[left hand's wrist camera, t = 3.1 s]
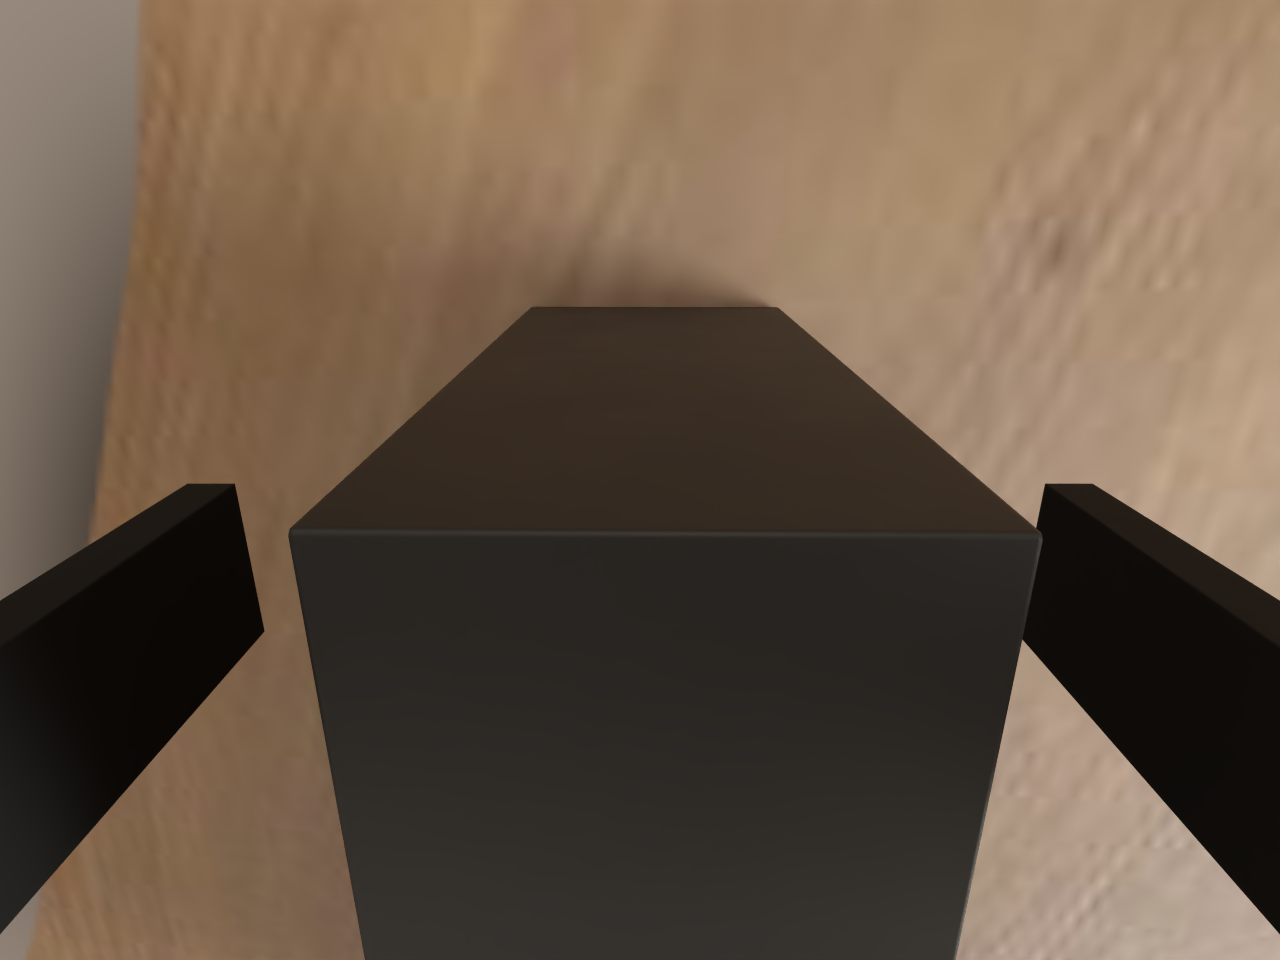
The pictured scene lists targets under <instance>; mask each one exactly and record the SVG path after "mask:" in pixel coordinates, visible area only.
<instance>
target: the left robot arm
mask: <svg viewBox="0 0 1280 960" xmlns="http://www.w3.org/2000/svg"><path fill="white" fill-rule="evenodd" d="M1036 529H1037V530H1039V531H1040V532H1041V534H1042V539H1043V541H1042V546H1041V551H1040V556H1039V561H1038V565H1037V570H1036V575H1035V580H1034V585H1033V590H1032V594H1031V599H1030V604H1029V609H1028V614H1027V618H1026V623H1025V628H1024V633H1023V638H1022V639H1023V641H1024V642H1025V643H1026V644H1027V645H1028V646H1029V647H1030V649H1031V650H1032V651H1033V652H1034V653H1035V654H1036V655H1037V657H1038V658H1039V659H1040V660H1041V661H1042V662H1043V663H1044V665H1045V666H1046V667H1047V668H1048V669H1049V670H1050V671H1051V673H1052V674H1053V675H1054V676H1055V677H1056V678H1057V679H1058V681H1059V682H1060V683H1061V684H1062V685H1063V686H1064V687H1065V689H1066V690H1067V691H1068V692H1069V693H1070V694H1071V696H1072V697H1073V698H1074V699H1075V700H1076V701H1077V702H1078V704H1079V705H1080V706H1081V707H1082V708H1083V709H1084V710H1085V712H1086V713H1087V714H1088V715H1089V716H1090V717H1091V718H1092V720H1093V721H1094V722H1095V723H1096V724H1097V725H1098V726H1099V728H1100V729H1101V730H1102V731H1103V732H1104V733H1105V734H1106V736H1107V737H1108V738H1109V739H1110V740H1111V741H1112V742H1113V744H1114V745H1115V746H1116V747H1117V748H1118V749H1119V750H1120V752H1121V753H1122V754H1123V755H1124V756H1125V757H1126V759H1127V760H1128V761H1129V762H1130V763H1131V764H1132V765H1133V767H1134V768H1135V769H1136V770H1137V771H1138V772H1139V773H1140V775H1141V776H1142V777H1143V778H1144V779H1145V780H1146V781H1147V783H1148V784H1149V785H1150V786H1151V787H1152V788H1153V789H1154V791H1155V792H1156V793H1157V794H1158V795H1159V796H1160V797H1161V799H1162V800H1163V801H1164V802H1165V803H1166V804H1167V805H1168V807H1169V808H1170V809H1171V810H1172V811H1173V812H1174V813H1175V815H1176V816H1177V817H1178V818H1179V819H1180V820H1181V822H1182V823H1183V824H1184V825H1185V826H1186V827H1187V828H1188V830H1189V831H1190V832H1191V833H1192V834H1193V835H1194V836H1195V838H1196V839H1197V840H1198V841H1199V842H1200V843H1201V844H1202V846H1203V847H1204V848H1205V849H1206V850H1207V851H1208V852H1209V854H1210V855H1211V856H1212V857H1213V858H1214V859H1215V860H1216V862H1217V863H1218V864H1219V865H1220V866H1221V867H1222V868H1223V870H1224V871H1225V872H1226V873H1227V874H1228V875H1229V877H1230V878H1231V879H1232V880H1233V881H1234V882H1235V883H1236V885H1237V886H1238V887H1239V888H1240V889H1241V890H1242V891H1243V893H1244V894H1245V895H1246V896H1247V897H1248V898H1249V899H1250V901H1251V902H1252V903H1253V904H1254V905H1255V906H1256V907H1257V909H1258V910H1259V911H1260V912H1261V913H1262V914H1263V915H1264V917H1265V918H1266V919H1267V920H1268V921H1269V922H1270V923H1271V925H1272V926H1273V927H1274V928H1275V929H1276V930H1277V931H1278V933H1279V934H1280V601H1279V600H1278V599H1276V598H1275V597H1273V596H1271V595H1270V594H1268V593H1267V592H1265V591H1263V590H1262V589H1260V588H1259V587H1257V586H1255V585H1254V584H1252V583H1251V582H1249V581H1247V580H1246V579H1244V578H1243V577H1241V576H1239V575H1238V574H1236V573H1235V572H1233V571H1231V570H1230V569H1228V568H1227V567H1225V566H1223V565H1222V564H1220V563H1219V562H1217V561H1215V560H1214V559H1212V558H1211V557H1209V556H1207V555H1206V554H1204V553H1203V552H1201V551H1199V550H1198V549H1196V548H1195V547H1193V546H1191V545H1190V544H1188V543H1187V542H1185V541H1183V540H1182V539H1180V538H1179V537H1177V536H1175V535H1174V534H1172V533H1171V532H1169V531H1167V530H1166V529H1164V528H1163V527H1161V526H1159V525H1158V524H1156V523H1155V522H1153V521H1151V520H1150V519H1148V518H1147V517H1145V516H1143V515H1142V514H1140V513H1139V512H1137V511H1135V510H1134V509H1132V508H1130V507H1129V506H1127V505H1126V504H1124V503H1122V502H1121V501H1119V500H1118V499H1116V498H1114V497H1113V496H1111V495H1110V494H1108V493H1106V492H1105V491H1103V490H1102V489H1100V488H1098V487H1097V486H1095V485H1094V484H1045V487H1044V492H1043V497H1042V502H1041V507H1040V512H1039V517H1038V522H1037V527H1036ZM263 633H264V626H263V621H262V617H261V612H260V607H259V602H258V597H257V592H256V587H255V582H254V577H253V572H252V567H251V562H250V557H249V552H248V547H247V542H246V537H245V532H244V527H243V522H242V517H241V512H240V507H239V502H238V497H237V492H236V487H235V484H186V485H185V486H183V487H182V488H180V489H178V490H177V491H175V492H174V493H172V494H170V495H169V496H167V497H166V498H164V499H162V500H161V501H159V502H158V503H156V504H154V505H153V506H151V507H150V508H148V509H146V510H145V511H143V512H141V513H140V514H138V515H137V516H135V517H133V518H132V519H130V520H129V521H127V522H125V523H124V524H122V525H121V526H119V527H117V528H116V529H114V530H113V531H111V532H109V533H108V534H106V535H105V536H103V537H101V538H100V539H98V540H97V541H95V542H93V543H92V544H90V545H89V546H87V547H85V548H84V549H82V550H81V551H79V552H77V553H76V554H74V555H73V556H71V557H69V558H68V559H66V560H65V561H63V562H62V563H60V564H58V565H57V566H55V567H53V568H52V569H50V570H49V571H47V572H45V573H44V574H42V575H41V576H39V577H37V578H36V579H34V580H33V581H31V582H29V583H28V584H26V585H25V586H23V587H21V588H20V589H18V590H17V591H15V592H13V593H12V594H10V595H9V596H7V597H5V598H4V599H2V600H1V601H0V934H1V933H2V931H3V930H4V929H5V928H6V927H7V926H8V925H9V923H10V922H11V921H12V920H13V919H14V918H15V916H16V915H17V914H18V913H19V912H20V911H21V910H22V909H23V907H24V906H25V905H26V904H27V903H28V902H29V900H30V899H31V898H32V897H33V896H34V895H35V894H36V893H37V891H38V890H39V889H40V888H41V887H42V886H43V885H44V883H45V882H46V881H47V880H48V879H49V878H50V876H51V875H52V874H53V873H54V872H55V871H56V870H57V868H58V867H59V866H60V865H61V864H62V863H63V862H64V860H65V859H66V858H67V857H68V856H69V855H70V854H71V852H72V851H73V850H74V849H75V848H76V847H77V846H78V844H79V843H80V842H81V841H82V840H83V839H84V838H85V836H86V835H87V834H88V833H89V832H90V831H91V830H92V828H93V827H94V826H95V825H96V824H97V823H98V822H99V820H100V819H101V818H102V817H103V816H104V815H105V813H106V812H107V811H108V810H109V809H110V808H111V807H112V805H113V804H114V803H115V802H116V801H117V800H118V799H119V797H120V796H121V795H122V794H123V793H124V792H125V791H126V789H127V788H128V787H129V786H130V785H131V784H132V783H133V781H134V780H135V779H136V778H137V777H138V776H139V775H140V773H141V772H142V771H143V770H144V769H145V768H146V767H147V765H148V764H149V763H150V762H151V761H152V760H153V759H154V757H155V756H156V755H157V754H158V753H159V752H160V750H161V749H162V748H163V747H164V746H165V745H166V744H167V742H168V741H169V740H170V739H171V738H172V737H173V736H174V734H175V733H176V732H177V731H178V730H179V729H180V728H181V726H182V725H183V724H184V723H185V722H186V721H187V720H188V718H189V717H190V716H191V715H192V714H193V713H194V712H195V710H196V709H197V708H198V707H199V706H200V705H201V704H202V702H203V701H204V700H205V699H206V698H207V697H208V696H209V694H210V693H211V692H212V691H213V690H214V689H215V687H216V686H217V685H218V684H219V683H220V682H221V681H222V679H223V678H224V677H225V676H226V675H227V674H228V673H229V671H230V670H231V669H232V668H233V667H234V666H235V665H236V663H237V662H238V661H239V660H240V659H241V658H242V657H243V655H244V654H245V653H246V652H247V651H248V650H249V649H250V647H251V646H252V645H253V644H254V643H255V642H256V641H257V639H258V638H259V637H260V636H261V635H262V634H263Z"/></svg>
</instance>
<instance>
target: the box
mask: <svg viewBox="0 0 1280 960" xmlns="http://www.w3.org/2000/svg"><path fill="white" fill-rule="evenodd" d="M288 537H289V542H290V548H291V553H292V559H293V564H294V570H295V575H296V581H297V586H298V592H299V597H300V603H301V608H302V614H303V619H304V625H305V630H306V636H307V642H308V647H309V653H310V658H311V664H312V669H313V675H314V680H315V686H316V691H317V697H318V702H319V708H320V713H321V719H322V724H323V730H324V735H325V741H326V746H327V752H328V757H329V763H330V768H331V774H332V779H333V785H334V790H335V796H336V801H337V807H338V813H339V818H340V824H341V829H342V835H343V840H344V846H345V851H346V857H347V862H348V868H349V873H350V879H351V884H352V890H353V895H354V901H355V906H356V912H357V917H358V923H359V928H360V934H361V939H362V945H363V950H364V956H365V960H956V955H957V950H958V945H959V940H960V936H961V931H962V926H963V921H964V916H965V912H966V907H967V902H968V897H969V892H970V888H971V883H972V878H973V873H974V868H975V864H976V859H977V854H978V849H979V844H980V840H981V835H982V830H983V825H984V820H985V815H986V811H987V806H988V801H989V796H990V791H991V787H992V782H993V777H994V772H995V767H996V763H997V758H998V753H999V748H1000V743H1001V739H1002V734H1003V729H1004V724H1005V719H1006V715H1007V710H1008V705H1009V700H1010V695H1011V690H1012V686H1013V681H1014V676H1015V671H1016V666H1017V662H1018V657H1019V652H1020V647H1021V642H1022V638H1023V633H1024V628H1025V623H1026V618H1027V614H1028V609H1029V604H1030V599H1031V594H1032V590H1033V585H1034V580H1035V575H1036V570H1037V565H1038V561H1039V556H1040V551H1041V546H1042V541H1043V539H1042V534H1041V532H1040V531H1039V530H1037V529H1036V528H1035V527H1034V526H1033V525H1032V524H1030V523H1029V522H1028V521H1027V520H1026V519H1025V518H1023V517H1022V516H1021V515H1020V514H1019V513H1018V512H1016V511H1015V510H1014V509H1013V508H1012V507H1011V506H1009V505H1008V504H1007V503H1006V502H1005V501H1004V500H1002V499H1001V498H1000V497H999V496H998V495H997V494H995V493H994V492H993V491H992V490H991V489H989V488H988V487H987V486H986V485H985V484H984V483H982V482H981V481H980V480H979V479H978V478H977V477H975V476H974V475H973V474H972V473H971V472H970V471H968V470H967V469H966V468H965V467H964V466H963V465H961V464H960V463H959V462H958V461H957V460H956V459H954V458H953V457H952V456H951V455H950V454H949V453H947V452H946V451H945V450H944V449H943V448H942V447H940V446H939V445H938V444H937V443H936V442H935V441H933V440H932V439H931V438H930V437H929V436H928V435H926V434H925V433H924V432H923V431H922V430H921V429H919V428H918V427H917V426H916V425H915V424H913V423H912V422H911V421H910V420H909V419H908V418H906V417H905V416H904V415H903V414H902V413H901V412H899V411H898V410H897V409H896V408H895V407H894V406H892V405H891V404H890V403H889V402H888V401H887V400H885V399H884V398H883V397H882V396H881V395H880V394H878V393H877V392H876V391H875V390H874V389H873V388H871V387H870V386H869V385H868V384H867V383H866V382H864V381H863V380H862V379H861V378H860V377H859V376H857V375H856V374H855V373H854V372H853V371H852V370H850V369H849V368H848V367H847V366H846V365H845V364H843V363H842V362H841V361H840V360H839V359H837V358H836V357H835V356H834V355H833V354H832V353H830V352H829V351H828V350H827V349H826V348H825V347H823V346H822V345H821V344H820V343H819V342H818V341H816V340H815V339H814V338H813V337H812V336H811V335H809V334H808V333H807V332H806V331H805V330H804V329H802V328H801V327H800V326H799V325H798V324H797V323H795V322H794V321H793V320H792V319H791V318H790V317H788V316H787V315H786V314H785V313H784V312H783V311H781V310H780V309H779V308H777V307H532V308H530V309H529V310H528V311H527V312H526V313H525V314H524V315H522V316H521V317H520V318H519V319H518V320H517V321H516V322H515V323H514V324H513V325H512V326H510V327H509V328H508V329H507V330H506V331H505V332H504V333H503V334H502V335H501V336H500V337H498V338H497V339H496V340H495V341H494V342H493V343H492V344H491V345H490V346H489V347H488V348H486V349H485V350H484V351H483V352H482V353H481V354H480V355H479V356H478V357H477V358H476V359H474V360H473V361H472V362H471V363H470V364H469V365H468V366H467V367H466V368H465V369H464V370H462V371H461V372H460V373H459V374H458V375H457V376H456V377H455V378H454V379H453V380H452V381H450V382H449V383H448V384H447V385H446V386H445V387H444V388H443V389H442V390H441V391H440V392H438V393H437V394H436V395H435V396H434V397H433V398H432V399H431V400H430V401H429V402H428V403H426V404H425V405H424V406H423V407H422V408H421V409H420V410H419V411H418V412H417V413H416V414H414V415H413V416H412V417H411V418H410V419H409V420H408V421H407V422H406V423H405V424H404V425H402V426H401V427H400V428H399V429H398V430H397V431H396V432H395V433H394V434H393V435H392V436H390V437H389V438H388V439H387V440H386V441H385V442H384V443H383V444H382V445H381V446H380V447H378V448H377V449H376V450H375V451H374V452H373V453H372V454H371V455H370V456H369V457H368V458H367V459H365V460H364V461H363V462H362V463H361V464H360V465H359V466H358V467H357V468H356V469H355V470H353V471H352V472H351V473H350V474H349V475H348V476H347V477H346V478H345V479H344V480H343V481H341V482H340V483H339V484H338V485H337V486H336V487H335V488H334V489H333V490H332V491H331V492H329V493H328V494H327V495H326V496H325V497H324V498H323V499H322V500H321V501H320V502H319V503H317V504H316V505H315V506H314V507H313V508H312V509H311V510H310V511H309V512H308V513H307V514H305V515H304V516H303V517H302V518H301V519H300V520H299V521H298V522H297V523H296V524H295V525H293V526H292V527H291V528H290V530H289V535H288Z"/></svg>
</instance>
